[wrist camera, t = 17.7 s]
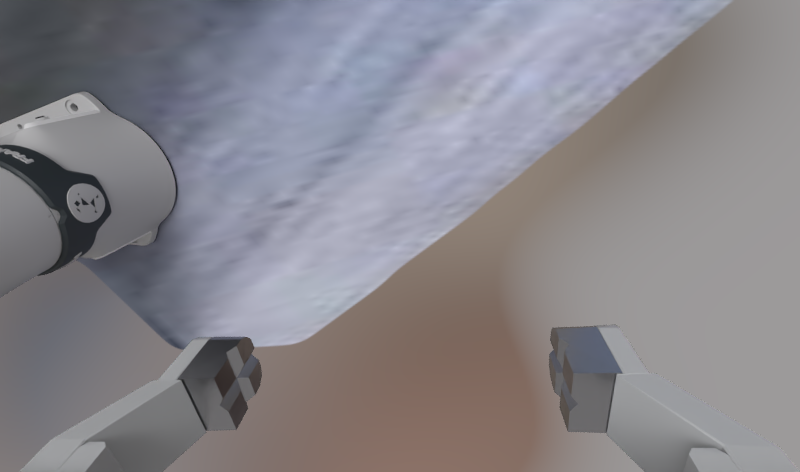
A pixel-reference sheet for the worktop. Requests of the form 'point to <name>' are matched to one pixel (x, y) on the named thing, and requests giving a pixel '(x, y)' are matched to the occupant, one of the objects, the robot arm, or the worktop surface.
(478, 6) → the worktop surface
